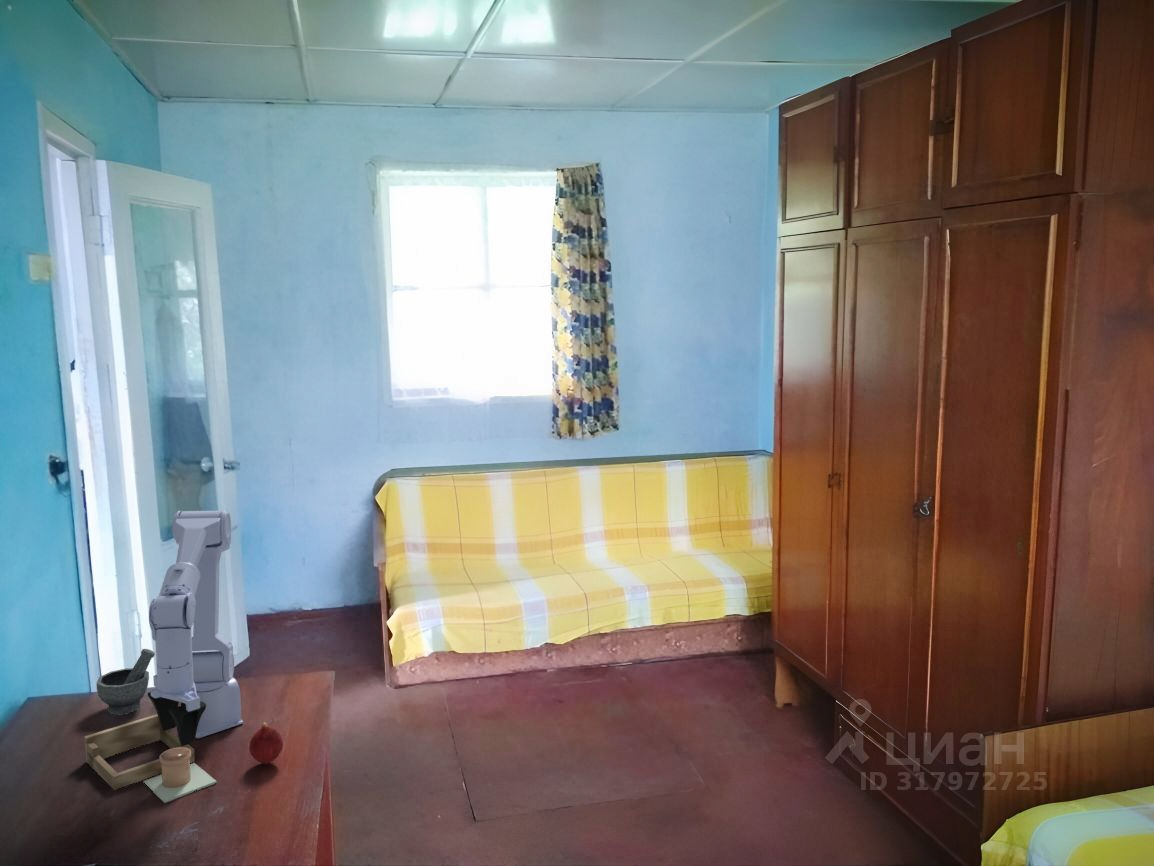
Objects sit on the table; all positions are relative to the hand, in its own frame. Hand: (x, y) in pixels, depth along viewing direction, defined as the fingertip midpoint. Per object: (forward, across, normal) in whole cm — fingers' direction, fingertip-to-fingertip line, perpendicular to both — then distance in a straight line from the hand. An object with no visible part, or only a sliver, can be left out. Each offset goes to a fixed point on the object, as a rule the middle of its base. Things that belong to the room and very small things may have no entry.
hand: (178, 736), depth 154 cm
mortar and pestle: (+9, -37, +5) cm, 39 cm away
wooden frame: (+9, -12, -2) cm, 15 cm away
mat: (+9, 0, 0) cm, 9 cm away
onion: (+9, +5, +14) cm, 17 cm away
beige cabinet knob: (+8, 0, 0) cm, 8 cm away
